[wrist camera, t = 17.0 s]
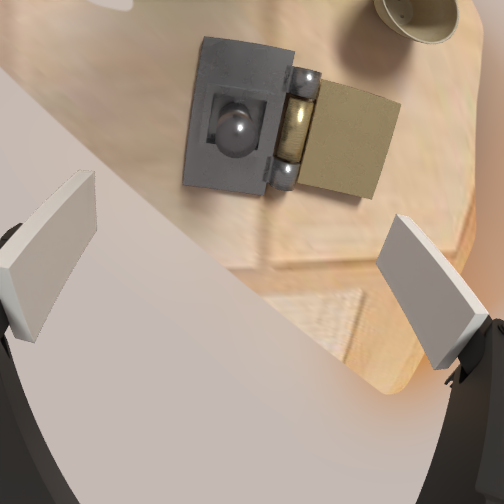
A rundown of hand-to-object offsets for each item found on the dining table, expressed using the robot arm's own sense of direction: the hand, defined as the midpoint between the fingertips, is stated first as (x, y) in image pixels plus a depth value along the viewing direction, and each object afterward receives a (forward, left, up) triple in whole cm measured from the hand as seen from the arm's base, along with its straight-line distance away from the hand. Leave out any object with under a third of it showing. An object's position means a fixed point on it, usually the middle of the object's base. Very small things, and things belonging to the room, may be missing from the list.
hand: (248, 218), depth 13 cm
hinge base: (0, +2, -26) cm, 26 cm away
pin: (0, 0, -25) cm, 25 cm away
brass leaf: (0, +12, -26) cm, 28 cm away
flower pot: (-19, +16, -26) cm, 36 cm away
